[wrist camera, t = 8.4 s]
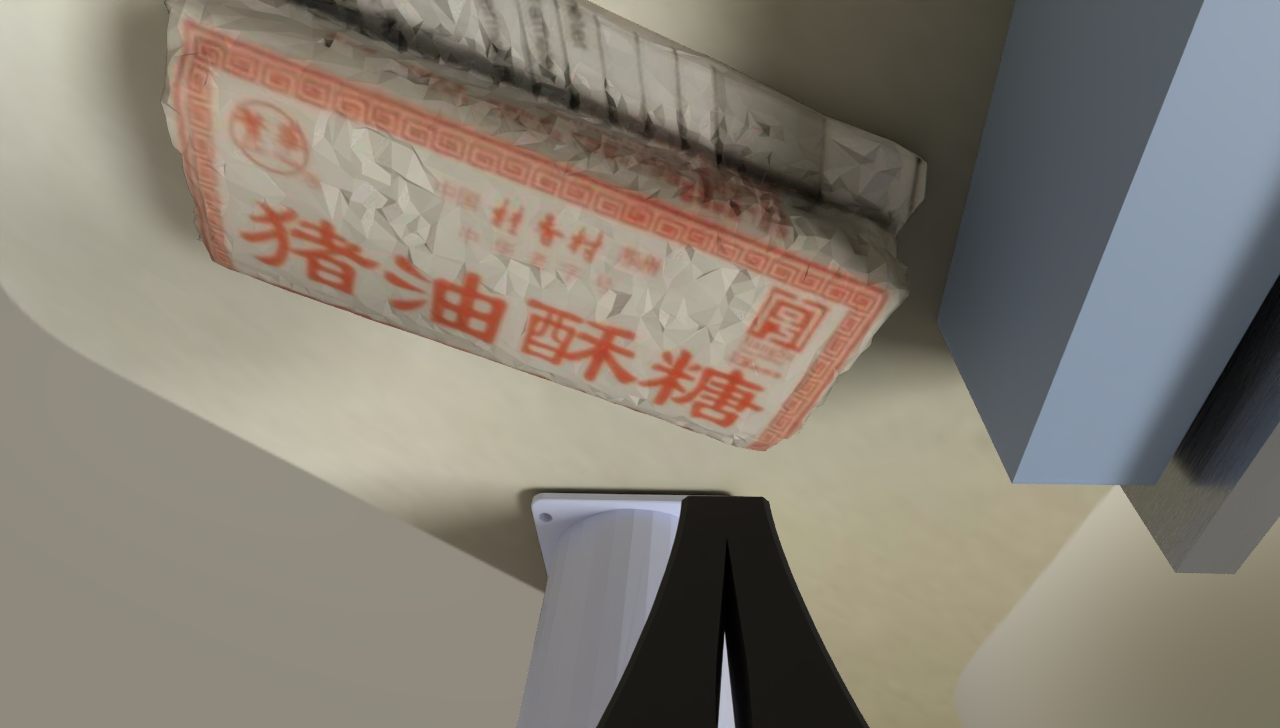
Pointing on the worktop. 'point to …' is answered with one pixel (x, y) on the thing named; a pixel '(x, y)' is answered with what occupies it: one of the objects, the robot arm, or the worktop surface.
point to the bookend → (1224, 462)
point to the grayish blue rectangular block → (1116, 229)
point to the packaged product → (545, 196)
